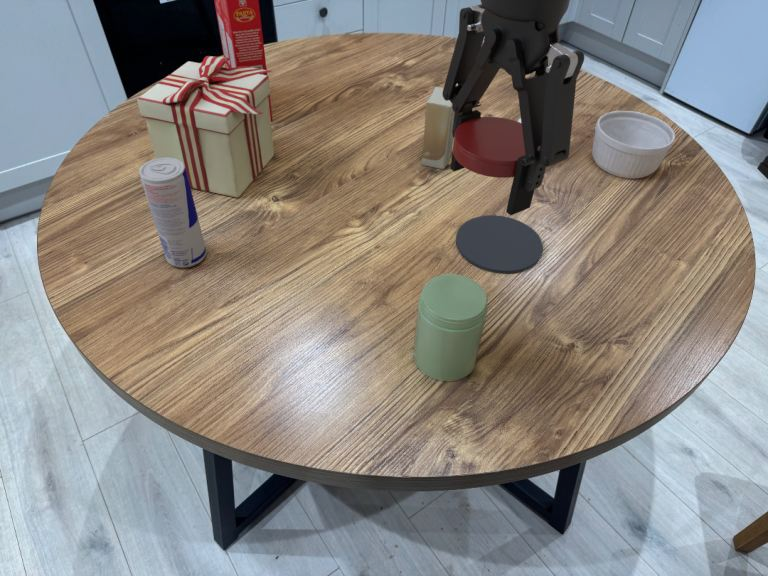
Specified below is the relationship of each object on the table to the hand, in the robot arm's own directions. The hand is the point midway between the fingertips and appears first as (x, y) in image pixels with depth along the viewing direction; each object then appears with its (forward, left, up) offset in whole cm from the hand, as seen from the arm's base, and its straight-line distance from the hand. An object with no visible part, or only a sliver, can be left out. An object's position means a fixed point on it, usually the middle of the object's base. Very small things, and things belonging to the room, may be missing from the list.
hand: (488, 187), depth 63 cm
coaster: (+8, -13, -20) cm, 25 cm away
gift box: (+48, +14, -20) cm, 54 cm away
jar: (-5, +7, -20) cm, 21 cm away
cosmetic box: (+32, -19, -20) cm, 42 cm away
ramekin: (+14, -48, -20) cm, 54 cm away
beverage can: (+29, +28, -20) cm, 45 cm away
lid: (0, 0, +6) cm, 6 cm away
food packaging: (+67, +2, -20) cm, 70 cm away
